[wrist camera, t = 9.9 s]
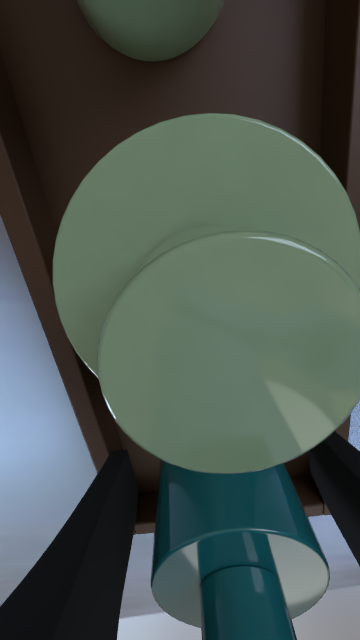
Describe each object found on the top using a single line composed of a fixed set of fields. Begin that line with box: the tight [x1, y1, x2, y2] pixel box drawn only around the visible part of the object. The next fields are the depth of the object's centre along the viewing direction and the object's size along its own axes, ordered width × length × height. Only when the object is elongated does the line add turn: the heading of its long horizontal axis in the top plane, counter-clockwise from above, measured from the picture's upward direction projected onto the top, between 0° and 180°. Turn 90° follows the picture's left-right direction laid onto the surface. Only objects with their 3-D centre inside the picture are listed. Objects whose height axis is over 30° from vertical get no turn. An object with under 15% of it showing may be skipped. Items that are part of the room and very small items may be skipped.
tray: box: [0, 0, 360, 535], centre depth 9 cm, size 11×26×2 cm, turn 9°
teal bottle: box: [151, 459, 330, 640], centre depth 8 cm, size 4×4×8 cm
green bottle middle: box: [53, 113, 360, 474], centre depth 6 cm, size 4×4×8 cm
